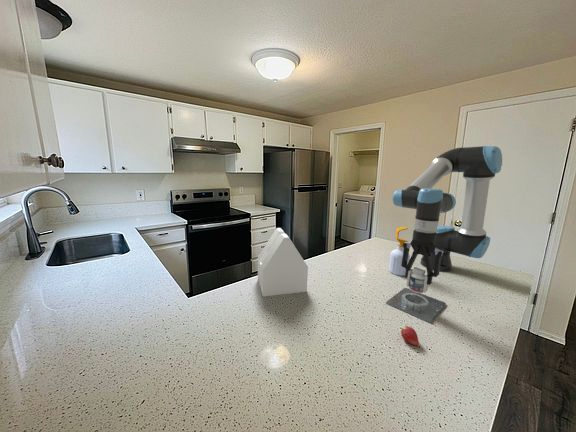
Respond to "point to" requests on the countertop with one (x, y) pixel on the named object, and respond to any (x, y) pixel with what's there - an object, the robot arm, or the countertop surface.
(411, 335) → the fruit
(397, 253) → the soap bottle
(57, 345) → the countertop surface
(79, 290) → the countertop surface
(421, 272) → the pill bottle
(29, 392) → the countertop surface
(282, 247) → the white toy house
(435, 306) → the duct plate
